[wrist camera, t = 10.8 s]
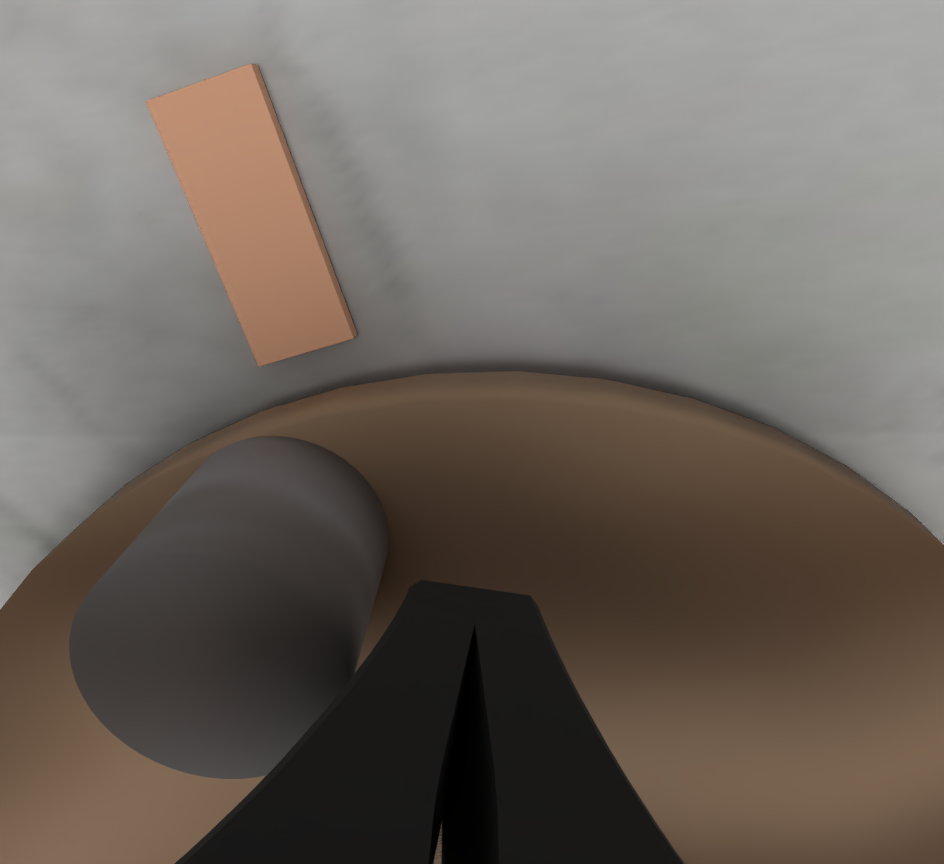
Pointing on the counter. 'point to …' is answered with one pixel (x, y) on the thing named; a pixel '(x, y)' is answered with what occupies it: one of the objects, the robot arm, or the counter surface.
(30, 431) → the counter surface
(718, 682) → the disc
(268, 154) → the salmon orange flat slab
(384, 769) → the robot arm
